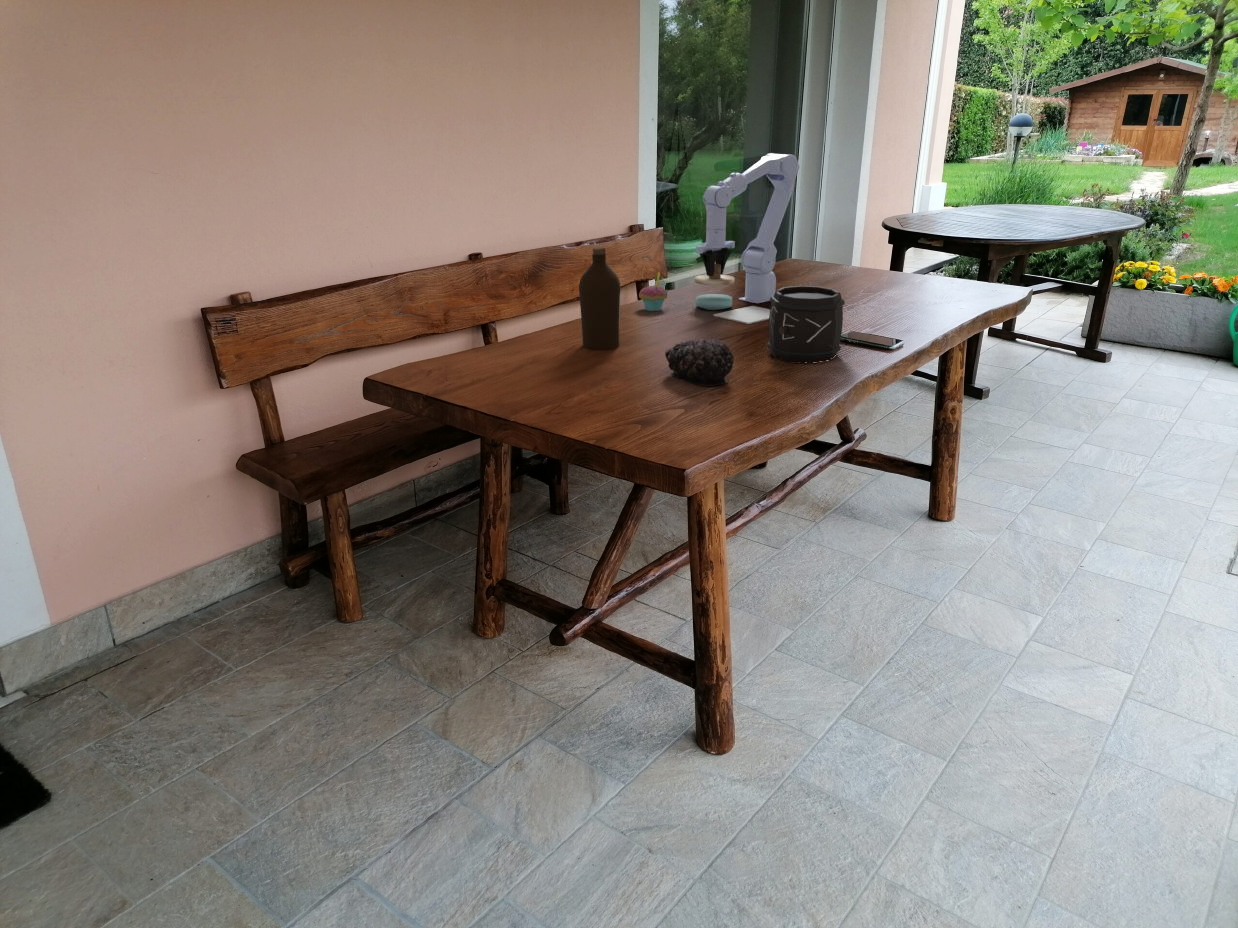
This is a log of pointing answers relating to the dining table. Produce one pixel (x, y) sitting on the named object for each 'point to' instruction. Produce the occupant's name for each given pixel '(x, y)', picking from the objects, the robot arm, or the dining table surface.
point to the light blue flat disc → (713, 301)
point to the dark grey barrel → (805, 323)
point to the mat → (746, 314)
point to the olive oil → (600, 304)
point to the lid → (715, 278)
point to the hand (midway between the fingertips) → (714, 275)
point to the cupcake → (653, 296)
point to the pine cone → (700, 361)
